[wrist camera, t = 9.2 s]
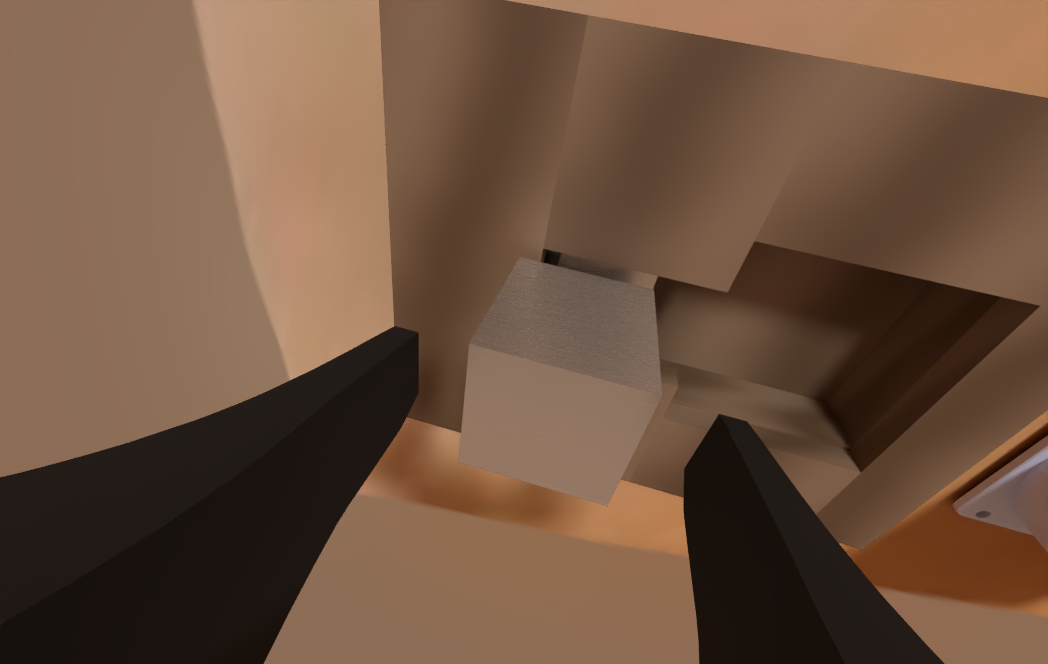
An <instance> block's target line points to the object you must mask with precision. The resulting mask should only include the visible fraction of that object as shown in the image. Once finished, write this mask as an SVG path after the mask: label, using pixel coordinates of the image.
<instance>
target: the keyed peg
mask: <svg viewBox="0 0 1048 664" xmlns="http://www.w3.org/2000/svg"><path fill="white" fill-rule="evenodd" d="M657 277H658V276H656V275H652V274H647V273H643V272H639V271H635V270H631V269H627V268H622V267H618V266H614V265H610V264H606V263H602V262H597V261H593V260H589V259H585V258H581V257H576V256H572V255H568V254H564V253H560V252H556V251H551V250H547V249H546V254H545V259H544V263H542V262H538V261H534V260H530V259H526V258H522V257H520V258H519V259H518V261H517V263H516V264H515V266H514V268H513V270H512V271H511V273H510V275H509V276H508V278H507V280H506V282H505V283H504V285H503V287H502V288H501V290H500V292H499V294H498V295H497V297H496V299H495V300H494V302H493V304H492V306H491V307H490V309H489V311H488V312H487V314H486V316H485V318H484V319H483V321H482V323H481V324H480V326H479V328H478V330H477V331H476V333H475V335H474V336H473V338H472V340H471V342H470V343H469V352H468V363H467V374H466V385H465V396H464V407H463V418H462V429H461V440H460V451H459V462H460V463H464V464H467V465H470V466H474V467H477V468H480V469H484V470H487V471H491V472H494V473H497V474H501V475H504V476H507V477H511V478H514V479H517V480H521V481H524V482H527V483H531V484H534V485H537V486H541V487H544V488H548V489H551V490H554V491H558V492H561V493H564V494H568V495H571V496H574V497H578V498H581V499H584V500H588V501H591V502H595V503H598V504H601V505H605V506H608V504H609V502H610V500H611V498H612V496H613V494H614V492H615V490H616V488H617V486H618V484H619V482H620V480H621V478H622V476H623V474H624V472H625V470H626V468H627V466H628V464H629V462H630V460H631V458H632V456H633V454H634V452H635V450H636V448H637V446H638V444H639V441H640V439H641V437H642V435H643V433H644V431H645V429H646V427H647V425H648V423H649V421H650V419H651V417H652V415H653V413H654V411H655V409H656V407H657V405H658V403H659V401H660V399H661V397H662V385H661V372H660V360H659V347H658V334H657V322H656V309H655V296H654V289H653V287H654V285H655V282H656V280H657Z"/></svg>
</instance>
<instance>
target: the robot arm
mask: <svg viewBox="0 0 1048 664" xmlns="http://www.w3.org/2000/svg"><path fill="white" fill-rule="evenodd" d="M418 393H419V332H416V331H412V330H408V329H404V328H401V327H397V326H394V327H392V328H390V329H388V330H387V331H385V332H383V333H381V334H379V335H377V336H375V337H373V338H372V339H370V340H368V341H366V342H364V343H362V344H361V345H359V346H357V347H355V348H353V349H351V350H350V351H348V352H346V353H344V354H342V355H340V356H338V357H336V358H334V359H333V360H331V361H329V362H327V363H325V364H323V365H321V366H319V367H317V368H315V369H313V370H311V371H309V372H307V373H305V374H303V375H301V376H299V377H297V378H294V379H292V380H290V381H288V382H286V383H284V384H282V385H280V386H278V387H276V388H273V389H271V390H269V391H267V392H265V393H262V394H260V395H258V396H256V397H253V398H251V399H249V400H246V401H244V402H241V403H239V404H237V405H234V406H231V407H229V408H226V409H224V410H221V411H219V412H216V413H213V414H211V415H208V416H206V417H203V418H200V419H197V420H195V421H192V422H189V423H186V424H183V425H180V426H177V427H174V428H171V429H168V430H165V431H162V432H159V433H156V434H153V435H150V436H147V437H144V438H141V439H138V440H135V441H132V442H129V443H126V444H123V445H119V446H116V447H112V448H109V449H105V450H102V451H99V452H95V453H92V454H88V455H85V456H81V457H78V458H74V459H70V460H67V461H63V462H60V463H56V464H52V465H48V466H45V467H41V468H37V469H33V470H29V471H25V472H21V473H17V474H13V475H9V476H5V477H0V664H264V662H265V660H266V658H267V656H268V654H269V652H270V650H271V648H272V646H273V643H274V642H275V639H276V638H277V636H278V634H279V632H280V630H281V628H282V626H283V624H284V621H285V620H286V618H287V615H288V614H289V611H290V610H291V608H292V606H293V604H294V602H295V600H296V598H297V596H298V595H299V593H300V591H301V588H302V587H303V585H304V583H305V581H306V579H307V577H308V575H309V574H310V572H311V570H312V568H313V566H314V564H315V562H316V561H317V559H318V557H319V555H320V553H321V552H322V550H323V548H324V546H325V544H326V543H327V541H328V539H329V537H330V535H331V534H332V532H333V530H334V528H335V526H336V524H337V523H338V521H339V520H340V518H341V517H342V515H343V513H344V512H345V510H346V509H347V507H348V505H349V504H350V502H351V501H352V499H353V498H354V497H355V495H356V494H357V492H358V491H359V489H360V488H361V486H362V485H363V483H364V482H365V480H366V479H367V477H368V476H369V475H370V473H371V472H372V470H373V469H374V467H375V466H376V464H377V463H378V461H379V460H380V458H381V457H382V455H383V454H384V453H385V451H386V450H387V448H388V447H389V445H390V444H391V442H392V441H393V439H394V438H395V436H396V435H397V433H398V432H399V430H400V429H401V427H402V425H403V423H404V421H405V419H406V417H407V415H408V414H409V412H410V410H411V408H412V406H413V404H414V401H415V399H416V397H417V395H418ZM953 507H954V509H955V510H956V512H957V513H958V514H959V515H961V516H964V517H968V518H971V519H975V520H978V521H982V522H986V523H989V524H993V525H996V526H1000V527H1004V528H1007V529H1011V530H1015V531H1018V532H1022V533H1025V534H1029V535H1033V536H1034V537H1035V538H1036V540H1037V541H1038V542H1039V543H1040V544H1041V546H1042V547H1043V548H1044V549H1045V550H1046V552H1047V553H1048V436H1046V437H1045V438H1043V439H1042V440H1040V441H1039V442H1038V443H1036V444H1035V445H1033V446H1032V447H1031V448H1029V449H1028V450H1026V451H1025V452H1024V453H1022V454H1021V455H1019V456H1018V457H1017V458H1015V459H1014V460H1012V461H1011V462H1010V463H1008V464H1007V465H1005V466H1004V467H1003V468H1001V469H1000V470H998V471H997V472H996V473H994V474H993V475H991V476H990V477H989V478H987V479H986V480H984V481H983V482H981V483H980V484H979V485H977V486H976V487H974V488H973V489H972V490H970V491H969V492H967V493H966V494H965V495H963V496H962V497H960V498H959V499H958V500H956V501H955V502H954V503H953ZM684 519H685V528H686V536H687V545H688V553H689V560H690V569H691V577H692V585H693V592H694V601H695V609H696V617H697V628H698V640H699V664H944V663H943V662H942V661H941V660H940V658H939V657H938V656H937V655H936V654H935V653H934V652H933V651H932V650H931V649H930V648H929V647H928V646H927V645H926V644H925V643H924V641H923V640H922V639H921V638H920V637H919V636H918V635H917V634H916V633H915V632H914V631H913V629H912V628H911V627H910V626H909V625H908V624H907V623H906V622H905V621H904V619H903V618H902V617H901V616H900V615H899V614H898V613H897V612H896V611H895V609H894V608H893V607H892V606H891V605H890V604H889V603H888V602H887V601H886V600H885V598H884V597H883V596H882V595H881V594H880V593H879V591H878V590H877V589H876V588H875V587H874V586H873V585H872V583H871V582H870V581H869V580H868V579H867V577H866V576H865V575H864V574H863V573H862V571H861V570H860V569H859V568H858V567H857V565H856V564H855V563H854V562H853V560H852V559H851V558H850V557H849V556H848V554H847V553H846V552H845V551H844V549H843V548H842V547H841V546H840V545H839V543H838V542H837V541H836V540H835V538H834V537H833V536H832V535H831V533H830V532H829V531H828V529H827V528H826V527H825V526H824V524H823V523H822V522H821V520H820V519H819V518H818V517H817V515H816V514H815V513H814V511H813V510H812V509H811V507H810V506H809V505H808V503H807V502H806V501H805V499H804V498H803V497H802V495H801V494H800V493H799V491H798V490H797V489H796V487H795V486H794V484H793V483H792V482H791V480H790V479H789V478H788V476H787V475H786V473H785V472H784V471H783V469H782V468H781V467H780V465H779V464H778V462H777V461H776V460H775V458H774V457H773V456H772V454H771V453H770V451H769V450H768V449H767V447H766V446H765V444H764V443H763V442H762V440H761V439H760V438H759V436H758V435H757V434H756V432H755V431H754V430H753V428H752V427H751V426H750V424H749V423H748V422H747V421H744V420H741V419H737V418H733V417H730V416H726V415H722V414H719V415H718V416H717V418H716V419H715V421H714V423H713V424H712V426H711V427H710V429H709V430H708V432H707V434H706V435H705V437H704V438H703V440H702V441H701V443H700V445H699V446H698V448H697V449H696V451H695V452H694V454H693V456H692V457H691V459H690V460H689V462H688V463H687V465H686V467H685V468H684Z"/></svg>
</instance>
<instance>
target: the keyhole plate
mask: <svg viewBox="0 0 1048 664" xmlns="http://www.w3.org/2000/svg"><path fill="white" fill-rule="evenodd" d="M379 9H380V30H381V51H382V72H383V94H384V115H385V136H386V157H387V179H388V200H389V221H390V243H391V264H392V285H393V306H394V326H397V327H401V328H404V329H408V330H412V331H416V332H419V393H418V395H417V397H416V399H415V401H414V404H413V406H412V408H411V410H410V412H409V414H408V415H407V417H408V418H412V419H415V420H419V421H422V422H426V423H429V424H432V425H436V426H439V427H443V428H446V429H450V430H453V431H457V432H460V433H461V429H462V418H463V407H464V396H465V385H466V374H467V363H468V352H469V343H470V342H471V340H472V338H473V336H474V335H475V333H476V331H477V330H478V328H479V326H480V324H481V323H482V321H483V319H484V318H485V316H486V314H487V312H488V311H489V309H490V307H491V306H492V304H493V302H494V300H495V299H496V297H497V295H498V294H499V292H500V290H501V288H502V287H503V285H504V283H505V282H506V280H507V278H508V276H509V275H510V273H511V271H512V270H513V268H514V266H515V264H516V263H517V261H518V259H519V258H520V257H522V258H526V259H530V260H534V261H538V262H542V263H544V259H545V254H546V249H547V250H551V251H556V252H560V253H564V254H568V255H572V256H576V257H581V258H585V259H589V260H593V261H597V262H602V263H606V264H610V265H614V266H618V267H622V268H627V269H631V270H635V271H639V272H643V273H647V274H652V275H656V276H658V277H657V280H656V282H655V285H654V287H653V289H654V296H655V309H656V322H657V334H658V347H659V360H660V372H661V385H662V397H661V399H660V401H659V403H658V405H657V407H656V409H655V411H654V413H653V415H652V417H651V419H650V421H649V423H648V425H647V427H646V429H645V431H644V433H643V435H642V437H641V439H640V441H639V444H638V446H637V448H636V450H635V452H634V454H633V456H632V458H631V460H630V462H629V464H628V466H627V468H626V470H625V472H624V474H623V476H622V478H621V479H622V480H625V481H629V482H632V483H635V484H639V485H642V486H646V487H649V488H653V489H656V490H660V491H663V492H666V493H670V494H673V495H677V496H680V497H684V468H685V467H686V465H687V463H688V462H689V460H690V459H691V457H692V456H693V454H694V452H695V451H696V449H697V448H698V446H699V445H700V443H701V441H702V440H703V438H704V437H705V435H706V434H707V432H708V430H709V429H710V427H711V426H712V424H713V423H714V421H715V419H716V418H717V416H718V415H719V414H722V415H726V416H730V417H733V418H737V419H741V420H744V421H747V422H748V423H749V424H750V426H751V427H752V428H753V430H754V431H755V432H756V434H757V435H758V436H759V438H760V439H761V440H762V442H763V443H764V444H765V446H766V447H767V449H768V450H769V451H770V453H771V454H772V456H773V457H774V458H775V460H776V461H777V462H778V464H779V465H780V467H781V468H782V469H783V471H784V472H785V473H786V475H787V476H788V478H789V479H790V480H791V482H792V483H793V484H794V486H795V487H796V489H797V490H798V491H799V493H800V494H801V495H802V497H803V498H804V499H805V501H806V502H807V503H808V505H809V506H810V507H811V509H812V510H813V511H814V513H815V514H816V515H817V517H818V518H819V519H820V520H821V522H822V523H823V524H824V526H825V527H826V528H827V529H828V531H829V532H830V533H831V535H832V536H833V537H834V538H835V540H836V541H837V542H838V543H842V544H845V545H849V546H852V547H856V548H859V549H864V548H865V547H866V546H868V545H869V544H870V543H872V542H873V541H874V540H876V539H877V538H878V537H880V536H881V535H882V534H884V533H885V532H886V531H887V530H889V529H890V528H891V527H893V526H894V525H895V524H897V523H898V522H899V521H901V520H902V519H903V518H905V517H906V516H907V515H909V514H910V513H911V512H913V511H914V510H915V509H917V508H918V507H919V506H921V505H922V504H923V503H925V502H926V501H927V500H929V499H930V498H931V497H933V496H934V495H935V494H937V493H938V492H939V491H941V490H942V489H943V488H945V487H946V486H947V485H949V484H950V483H951V482H953V481H954V480H955V479H957V478H958V477H959V476H961V475H962V474H963V473H965V472H966V471H967V470H969V469H970V468H971V467H973V466H974V465H975V464H977V463H978V462H979V461H981V460H982V459H983V458H985V457H986V456H987V455H988V454H990V453H991V452H992V451H994V450H995V449H996V448H998V447H999V446H1000V445H1002V444H1003V443H1004V442H1006V441H1007V440H1008V439H1010V438H1011V437H1012V436H1014V435H1015V434H1016V433H1018V432H1019V431H1020V430H1022V429H1023V428H1024V427H1026V426H1027V425H1028V424H1030V423H1031V422H1032V421H1034V420H1035V419H1036V418H1038V417H1039V416H1040V415H1042V414H1043V413H1044V412H1046V411H1047V410H1048V98H1045V97H1039V96H1034V95H1028V94H1023V93H1017V92H1011V91H1006V90H1000V89H995V88H989V87H984V86H978V85H972V84H967V83H961V82H956V81H950V80H945V79H939V78H934V77H928V76H922V75H917V74H911V73H906V72H900V71H895V70H889V69H884V68H878V67H872V66H867V65H861V64H856V63H850V62H845V61H839V60H834V59H828V58H822V57H817V56H811V55H806V54H800V53H795V52H789V51H784V50H778V49H772V48H767V47H761V46H756V45H750V44H745V43H739V42H733V41H728V40H722V39H717V38H711V37H706V36H700V35H695V34H689V33H683V32H678V31H672V30H667V29H661V28H656V27H650V26H645V25H639V24H633V23H628V22H622V21H617V20H611V19H606V18H600V17H595V16H589V15H583V14H578V13H572V12H567V11H561V10H556V9H550V8H545V7H539V6H533V5H528V4H522V3H517V2H511V1H506V0H379Z"/></svg>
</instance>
